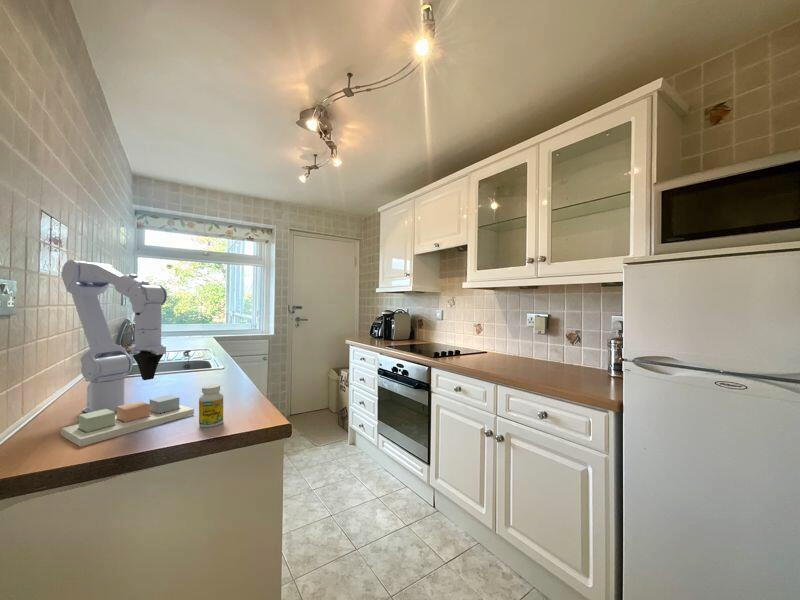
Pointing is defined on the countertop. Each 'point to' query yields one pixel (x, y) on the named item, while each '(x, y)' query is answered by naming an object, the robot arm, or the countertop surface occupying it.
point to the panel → (122, 426)
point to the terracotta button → (133, 411)
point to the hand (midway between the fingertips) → (147, 379)
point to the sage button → (96, 420)
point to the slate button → (164, 404)
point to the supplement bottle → (210, 406)
